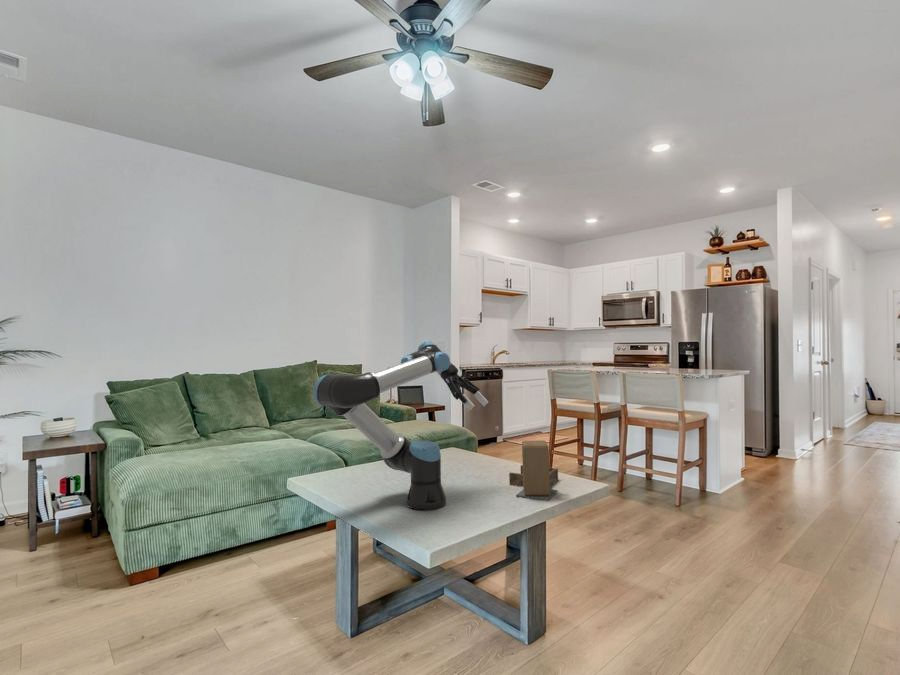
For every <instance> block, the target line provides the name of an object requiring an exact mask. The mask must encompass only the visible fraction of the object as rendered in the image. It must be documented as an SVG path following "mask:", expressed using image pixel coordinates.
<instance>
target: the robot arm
mask: <svg viewBox="0 0 900 675" xmlns="http://www.w3.org/2000/svg"><path fill="white" fill-rule="evenodd" d="M435 372H436V374H438V376H440V378H441V379H442V380H443V381H444V382H445V384H446V385H447V388H448V389H449V390H450V393H451V394H452V396H453V398H454V399H455V400H457V401H458V400H460V402H461V403H462V404H463V405H464V406H465V407H466V409H468V410H469V411H471V410H472V409H473V408H474V407H475V404H474V403H473V402H472V401H471V400H470V399H469V397H467V395H466V394H464V393H463V391H462V388H463V389H464V390H466V391H468V392H470V393H471V394H472V395H473V397H475V399H476V400H477V401H478V402H479V403H480V404H481V405H482V407H486V406H487V405H488V403H489V401H488V400H487V398H485V396H483V394H482V393H481V392H480V387H478V386H477V385H475V384H474V383H473V382H471V381H470V380H469V379H467V378H466V377H465V376H464V375H463V374H462V375H459V374H458V373H459V369H458V368H457V367H456V366H455V365H454V364H453V363H452V361H451V358H450V356H449V354H448V353H446V352H444V351H442V350H441V349H440V348H439V347H438V345H437V344H435V343H434V342H433V341H432V340H429V339H427V340H424V341H423V342H422V343H421V344H420V345H419V346H418V347H417V351H415V352H412V353H409V354H406V355H405V356H403V357H402V358H401V359H400V363H398V364H396V365H393V366H390V367H388V368H385V369H381V370H379V371H376V372H374V373H373V372H369V371H368V372H365V373H362V374H361V373H360V374H335V373H330V374H329V373H328V374H325V375H322V376H320V377H319V378H318V379H317V380H316V382H315V383H314V386H313V398H314V400H315V401H316V403H317V404H319V405H320V406H322V407H327V408H328V409H329V410H330V411H331V412H333V414H335V416H337V417H344V418H345V419H346V420H347V421H348V422H349V423H351V424H352V425H353V426H354V427H355V428H356V429H357V430H358V431H359V432H360V433H362V435H364V436H365V437H366V438H367V439H368V440H369V441H370V442H371V443H372V444H374V445H375V446H376V447H377V448H378V449H379V452H380V455H381V457H382V460H383V462H384V464H385V465H386V466H387V467H389V468H390V469H392V470H395V471H401V472H404V473H408V474H410V487H409V489H408V493H407V497H406V506H407V505H408V506H409V507H412V508H415V509H414V510H416V509H426V510H425V511H428V510H427V509H432V510H436V509H437V510H438V509H440V507H441V508H443V507H444V506H445V505H447V496H446V494H445V490H444V487H443V484H442V472H441V471H442V465H441V464H442V463H441V462H442V461H441V460H442V459H441V458H442V457H441V455H442V454H441V448H440V446H439V444H438V443H437V442H433V441H431V440H420V439H419V440H414V441H412V442H411V441H410V440H408V439H407V438H406V437H405V436H404V435H403V434H402V433H400V432H399V433H398V432H397V433H395V431H394V430H393V429H392V428H390V426H388V425H387V424H386V423H385V422H384V421H383V419H382V418H380V417H379V416H378V415H377V414H376V413H375V411H373V409H371V408H370V407H369V406H368V405H367V404H366V403H367V402H370V401H372V400H374V399H378V398H379V397H380V395H381V393H385V392H387V391H390V390H392V389H395V388H397V387H399V386H402V385H405V384H407V383H410V382H412V381H414V380H418V379H421V378H423V377H425V376H427V375H430V374H433V373H435ZM408 506H407V507H408ZM409 507H408V508H409ZM412 508H411V509H412Z"/></svg>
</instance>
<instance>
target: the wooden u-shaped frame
mask: <svg viewBox="0 0 900 675" xmlns="http://www.w3.org/2000/svg"><path fill="white" fill-rule="evenodd" d="M508 476H509V479H508V480H509V481H508V482H509V485H510V486H515V485H517V486H518V487H523V464H521V465H520V473H519V472H509V474H508ZM549 478H550V487H552V486H553V485H554V484H553V483H554V482H555V481H556V480H558V481H559V468H555V467H554V468H553V467H549ZM556 482H557V481H556ZM556 482H555V483H556Z"/></svg>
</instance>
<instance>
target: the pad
mask: <svg viewBox="0 0 900 675" xmlns="http://www.w3.org/2000/svg"><path fill="white" fill-rule="evenodd" d="M556 492H557V493H558V489H554V488H550V494H549V495H548V496H527V495H525V494H524V488H523V489H522V490H520V491H519V492H518V493H517V494H515V496H516V498H519V497H521V498H520V499H527V498H529V499H528V500H535V499H536V500H535V501H543V502H549V501H550V500H551V499H552V498H553V497H554V496H555V495H556V494H557V493H556ZM555 493H556V494H555Z"/></svg>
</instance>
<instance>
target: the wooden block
mask: <svg viewBox="0 0 900 675" xmlns="http://www.w3.org/2000/svg"><path fill="white" fill-rule="evenodd" d="M521 452H522V453H521V455H522V456H521V457H522V459H521V460H522V465H523V486H522V487H523V489H524V494H525V495H527V496H548V495H549V494H550V489H551V486H550V478H549V468H550V459H549V458H550V455H549V454H550V450H549V445H548V443H547V442H546V440H523V441H522V442H521Z"/></svg>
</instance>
